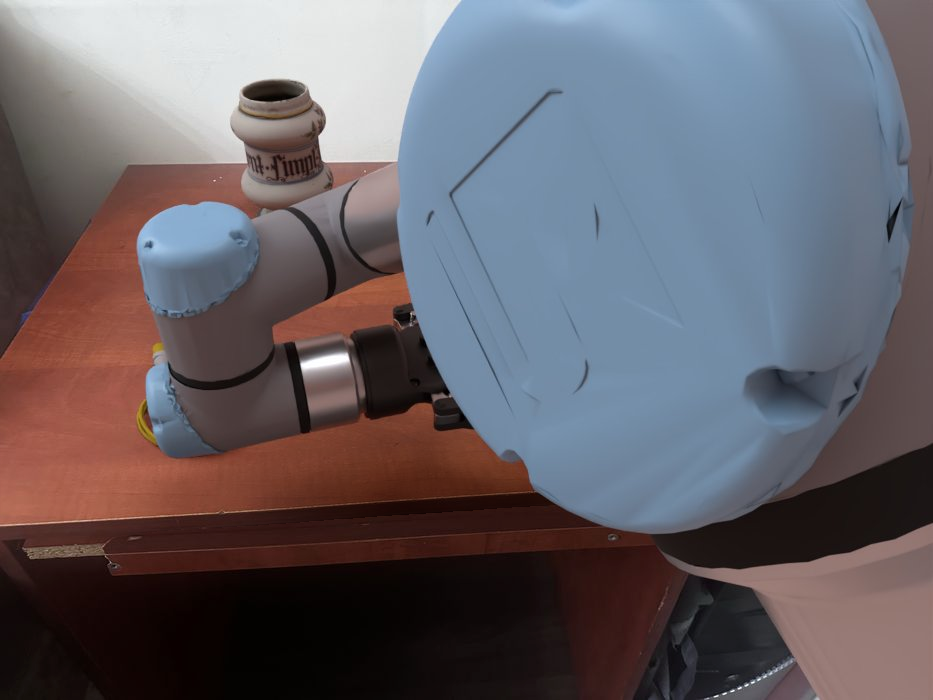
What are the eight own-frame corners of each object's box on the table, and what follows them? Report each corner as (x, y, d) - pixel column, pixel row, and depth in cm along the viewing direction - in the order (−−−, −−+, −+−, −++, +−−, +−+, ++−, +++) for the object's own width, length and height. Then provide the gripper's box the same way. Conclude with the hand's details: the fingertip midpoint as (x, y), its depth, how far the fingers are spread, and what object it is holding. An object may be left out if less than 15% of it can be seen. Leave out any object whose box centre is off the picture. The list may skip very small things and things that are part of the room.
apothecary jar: (235, 210, 100) (210, 81, 88) (314, 190, 105) (301, 66, 93) (267, 249, 92) (245, 114, 80) (351, 226, 97) (341, 96, 86)
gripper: (330, 322, 69) (529, 288, 75) (395, 525, 51) (650, 460, 57) (323, 257, 64) (537, 226, 70) (392, 457, 47) (671, 393, 52)
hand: (588, 331), depth 64 cm, fingers open, 13 cm apart
